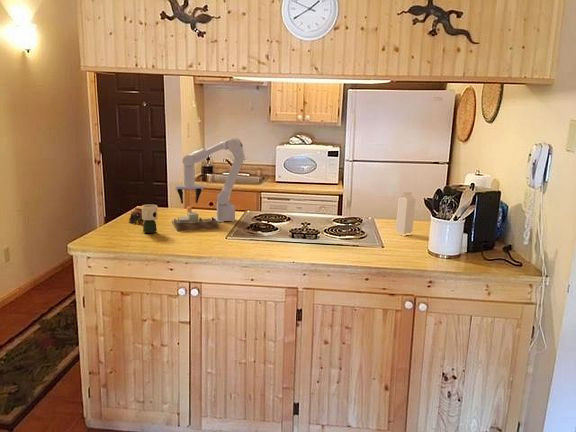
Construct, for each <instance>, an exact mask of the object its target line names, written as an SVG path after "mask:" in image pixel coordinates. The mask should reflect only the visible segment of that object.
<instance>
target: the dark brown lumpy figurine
mask: <svg viewBox="0 0 576 432" xmlns="http://www.w3.org/2000/svg"><path fill="white" fill-rule="evenodd" d="M137 222H138V223H143V222H144V220H143V219H142V208H140V207H139V208H138V207H134V209H133V210H132V211H131V213H130V216H129V218H128V223H131V224H135V225H137Z"/></svg>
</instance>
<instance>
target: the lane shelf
mask: <svg viewBox="0 0 576 432" xmlns="http://www.w3.org/2000/svg"><path fill="white" fill-rule="evenodd" d="M188 219H189V218H188ZM171 223H172V225H173V227H174V228H175V230H176V231H177V232H188V231H203V230H204V231H205V230H207V231H208V229H209V230H219V229H220V228H219V222H218V221H216V220H215V217H214V216H213V217H211V218H202V217H198V222H191V221H190V220H189V222H181V223H178V219H176V218H174V219H173V220H171Z"/></svg>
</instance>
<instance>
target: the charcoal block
mask: <svg viewBox="0 0 576 432" xmlns="http://www.w3.org/2000/svg"><path fill="white" fill-rule="evenodd" d="M177 220H178V223H181V222H189V219H188V218H187V216H177Z"/></svg>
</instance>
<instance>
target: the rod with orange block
mask: <svg viewBox="0 0 576 432" xmlns="http://www.w3.org/2000/svg"><path fill="white" fill-rule="evenodd" d="M186 217H187V218H189V220H190V221H191V222H198V219H199V213H198V212H197V211H192V206H186Z"/></svg>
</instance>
